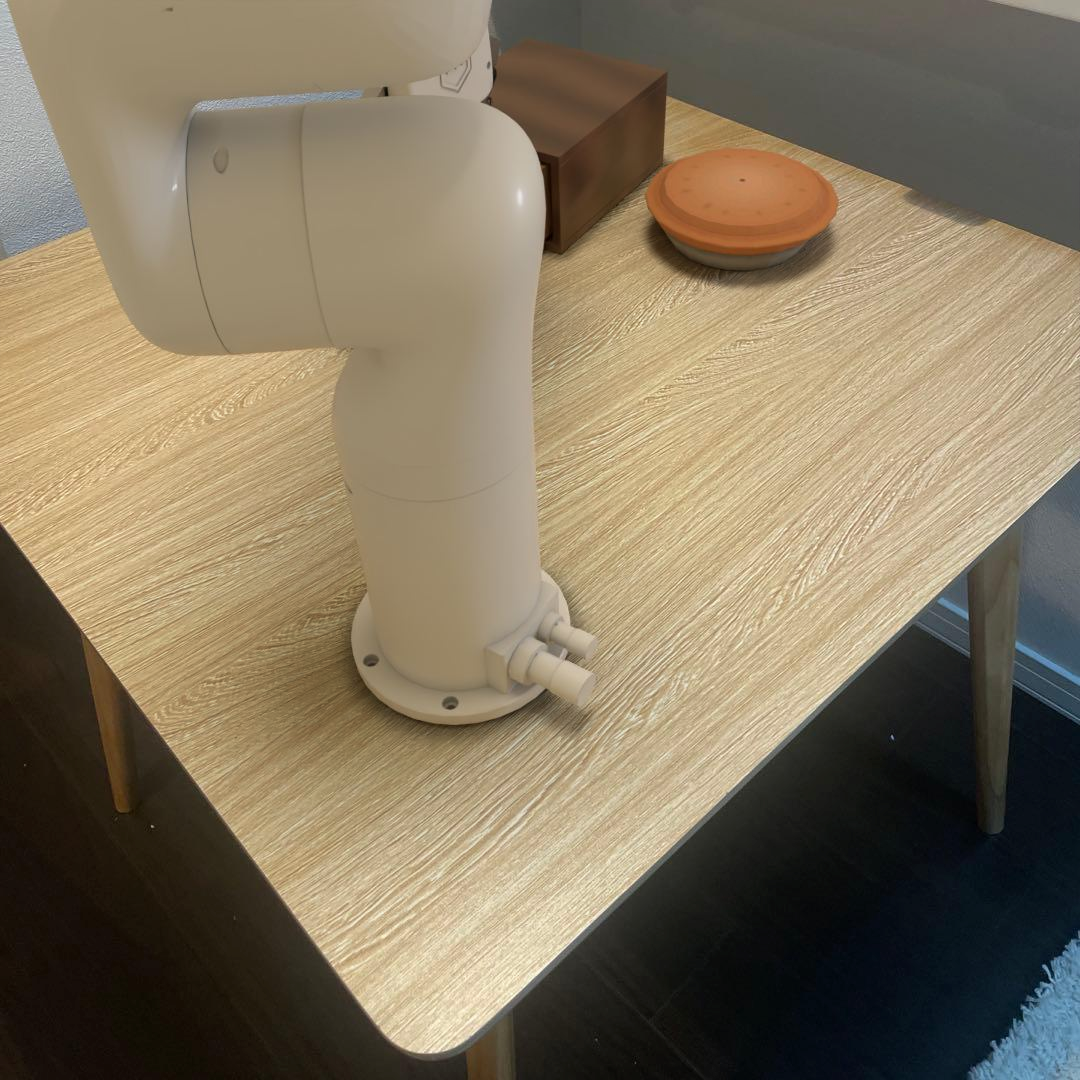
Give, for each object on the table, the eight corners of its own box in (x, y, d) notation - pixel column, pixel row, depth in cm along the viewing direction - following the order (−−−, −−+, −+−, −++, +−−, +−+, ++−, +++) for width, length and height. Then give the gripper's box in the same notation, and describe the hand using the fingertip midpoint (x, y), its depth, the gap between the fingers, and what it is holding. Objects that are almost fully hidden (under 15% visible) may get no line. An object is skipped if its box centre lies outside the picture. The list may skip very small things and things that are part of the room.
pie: (605, 235, 94) (606, 180, 91) (727, 170, 101) (732, 117, 97) (746, 310, 86) (753, 254, 82) (868, 234, 93) (879, 179, 89)
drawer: (413, 366, 81) (401, 286, 76) (276, 312, 86) (257, 234, 82) (575, 225, 94) (574, 148, 89) (447, 185, 99) (439, 111, 94)
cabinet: (561, 254, 92) (558, 157, 86) (420, 209, 98) (409, 114, 92) (663, 163, 102) (668, 70, 96) (530, 127, 108) (526, 37, 102)
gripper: (373, 4, 68) (407, 251, 80) (530, -82, 78) (538, 150, 90) (281, -18, 71) (327, 224, 83) (443, -98, 81) (463, 129, 93)
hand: (437, 185), depth 87 cm, fingers open, 9 cm apart
